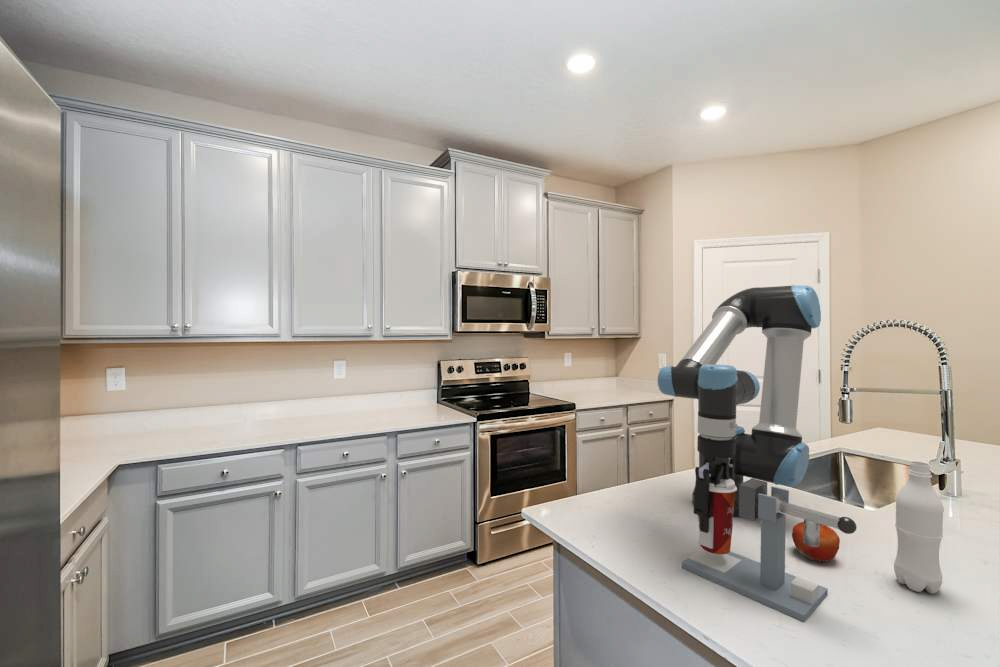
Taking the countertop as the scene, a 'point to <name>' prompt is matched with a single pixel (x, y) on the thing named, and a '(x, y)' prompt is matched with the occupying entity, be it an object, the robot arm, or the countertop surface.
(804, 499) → the countertop surface
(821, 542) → the tomato
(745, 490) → the lever
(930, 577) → the water bottle
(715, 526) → the coffee cup
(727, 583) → the frame
